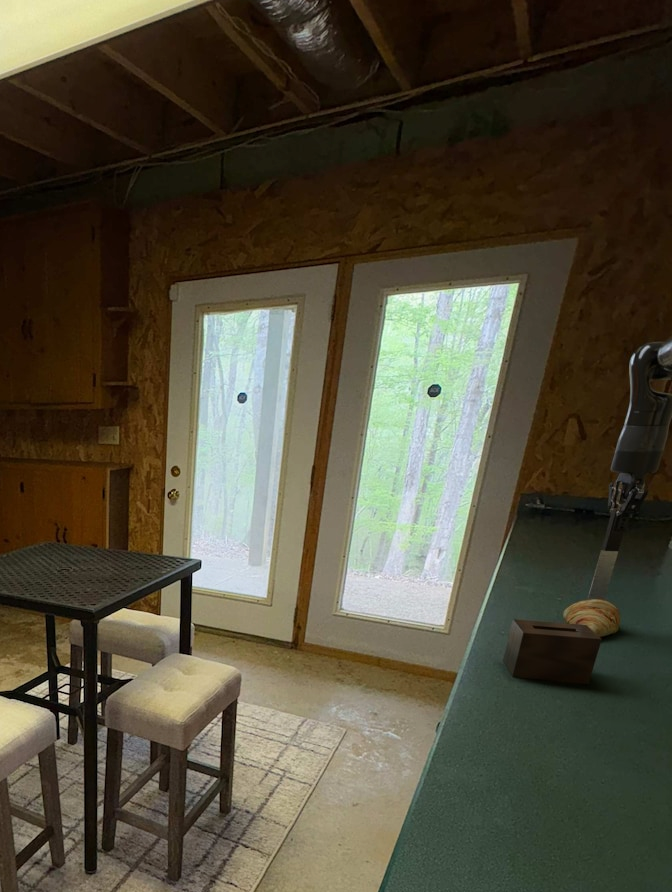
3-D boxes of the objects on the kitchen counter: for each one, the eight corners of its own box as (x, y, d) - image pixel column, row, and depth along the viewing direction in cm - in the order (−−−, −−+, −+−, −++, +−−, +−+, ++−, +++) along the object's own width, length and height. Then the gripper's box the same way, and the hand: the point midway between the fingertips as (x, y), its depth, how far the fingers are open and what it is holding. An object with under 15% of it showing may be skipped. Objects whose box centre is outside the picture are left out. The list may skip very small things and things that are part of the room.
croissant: (599, 658, 135) (631, 631, 130) (554, 630, 139) (583, 603, 134) (601, 629, 150) (630, 604, 145) (560, 605, 154) (587, 579, 149)
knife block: (573, 667, 123) (586, 624, 120) (588, 684, 116) (602, 639, 112) (502, 661, 127) (512, 619, 124) (512, 676, 120) (523, 632, 117)
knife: (602, 597, 141) (628, 508, 134) (605, 600, 139) (632, 509, 132) (586, 596, 142) (611, 507, 135) (589, 599, 140) (614, 509, 133)
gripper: (678, 450, 122) (650, 538, 128) (648, 446, 133) (624, 527, 140) (630, 450, 124) (605, 537, 131) (605, 446, 136) (583, 526, 142)
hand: (615, 531), depth 135 cm, fingers closed on knife, 2 cm apart
